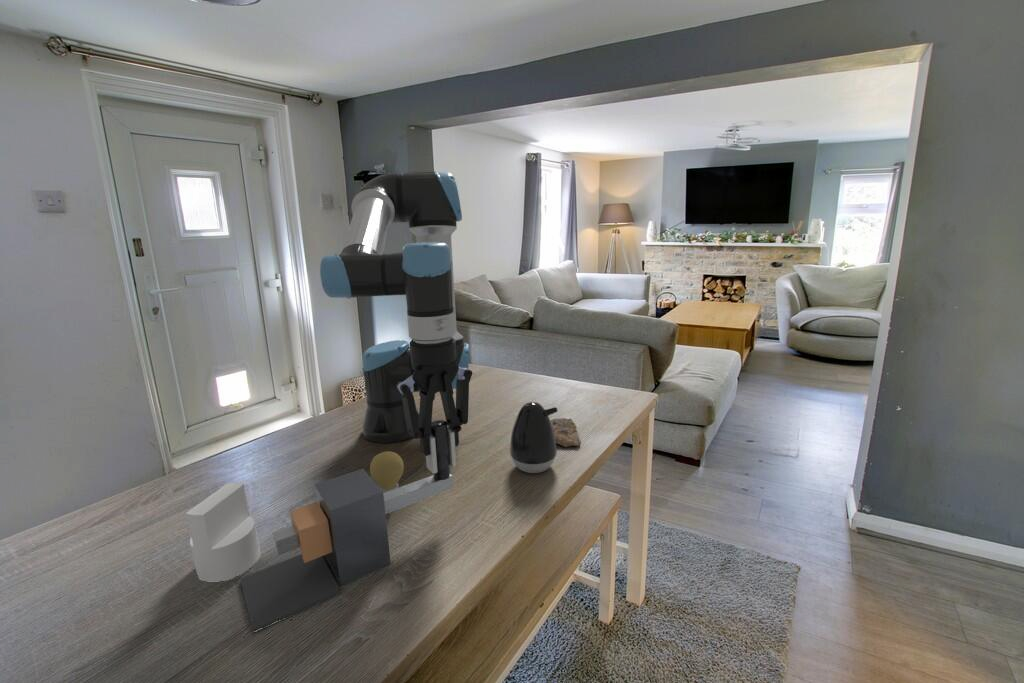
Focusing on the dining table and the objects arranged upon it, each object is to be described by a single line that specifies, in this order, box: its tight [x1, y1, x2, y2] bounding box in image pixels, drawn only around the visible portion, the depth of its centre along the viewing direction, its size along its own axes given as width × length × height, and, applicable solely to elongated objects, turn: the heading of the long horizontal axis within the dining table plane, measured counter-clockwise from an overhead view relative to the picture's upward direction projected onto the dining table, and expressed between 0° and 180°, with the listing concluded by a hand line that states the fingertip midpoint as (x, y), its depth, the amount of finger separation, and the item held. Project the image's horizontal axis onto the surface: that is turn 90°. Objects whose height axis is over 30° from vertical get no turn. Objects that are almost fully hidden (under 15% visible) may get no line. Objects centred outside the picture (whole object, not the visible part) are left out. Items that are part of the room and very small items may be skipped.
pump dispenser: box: [509, 401, 558, 474], centre depth 103 cm, size 10×10×15 cm
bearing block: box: [313, 468, 392, 587], centre depth 77 cm, size 9×8×13 cm
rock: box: [550, 417, 582, 448], centre depth 118 cm, size 9×6×10 cm
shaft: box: [272, 419, 455, 557], centre depth 77 cm, size 3×29×12 cm, turn 126°
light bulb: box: [369, 450, 405, 493], centre depth 94 cm, size 6×6×10 cm
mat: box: [240, 553, 341, 633], centre depth 73 cm, size 12×12×1 cm
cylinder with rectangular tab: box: [185, 482, 261, 581], centre depth 77 cm, size 9×9×12 cm
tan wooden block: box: [290, 501, 332, 563], centre depth 73 cm, size 6×4×6 cm, turn 36°
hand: (441, 466), depth 85 cm, fingers closed on shaft, 3 cm apart
